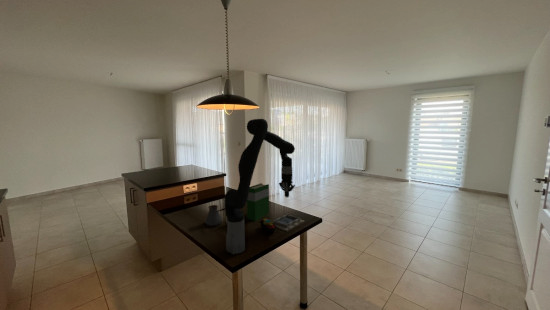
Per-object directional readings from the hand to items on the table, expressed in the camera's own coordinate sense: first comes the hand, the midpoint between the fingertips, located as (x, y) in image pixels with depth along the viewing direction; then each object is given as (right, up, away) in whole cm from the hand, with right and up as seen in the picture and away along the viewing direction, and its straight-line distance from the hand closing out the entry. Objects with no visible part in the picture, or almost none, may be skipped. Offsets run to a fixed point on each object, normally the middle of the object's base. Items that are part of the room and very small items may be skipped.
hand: (286, 196), depth 151 cm
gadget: (-11, -21, -11) cm, 26 cm away
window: (0, -19, +2) cm, 19 cm away
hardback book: (-21, -18, +14) cm, 31 cm away
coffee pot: (-47, -20, -2) cm, 51 cm away
